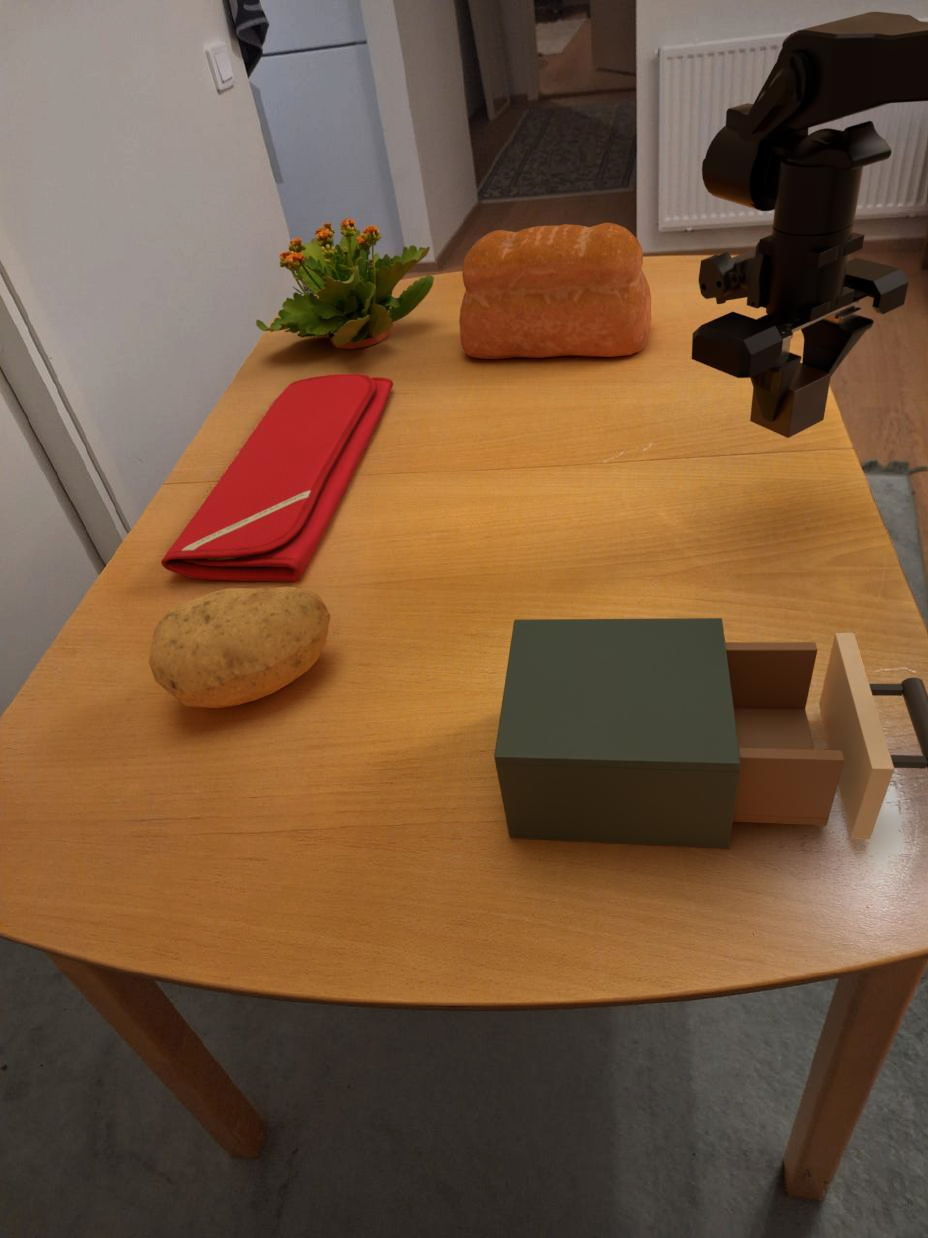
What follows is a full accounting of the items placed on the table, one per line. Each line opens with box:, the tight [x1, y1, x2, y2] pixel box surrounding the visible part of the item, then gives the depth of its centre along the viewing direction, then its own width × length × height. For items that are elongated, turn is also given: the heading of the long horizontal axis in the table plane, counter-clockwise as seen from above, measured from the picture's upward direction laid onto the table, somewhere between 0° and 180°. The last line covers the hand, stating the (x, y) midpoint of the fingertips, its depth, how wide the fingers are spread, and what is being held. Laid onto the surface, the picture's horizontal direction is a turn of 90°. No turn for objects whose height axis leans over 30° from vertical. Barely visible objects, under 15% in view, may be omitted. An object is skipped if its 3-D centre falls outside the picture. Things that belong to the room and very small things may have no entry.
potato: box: [148, 586, 331, 709], centre depth 68 cm, size 10×14×10 cm
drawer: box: [725, 632, 928, 840], centre depth 54 cm, size 18×11×7 cm, turn 82°
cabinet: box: [493, 617, 741, 850], centre depth 56 cm, size 15×13×9 cm
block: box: [749, 362, 832, 439], centre depth 71 cm, size 4×4×4 cm
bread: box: [458, 222, 652, 360], centre depth 109 cm, size 14×26×15 cm, turn 75°
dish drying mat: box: [160, 373, 394, 583], centre depth 96 cm, size 16×41×4 cm, turn 171°
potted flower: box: [255, 218, 435, 350], centre depth 120 cm, size 25×24×18 cm
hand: (788, 410), depth 71 cm, fingers closed on block, 4 cm apart
